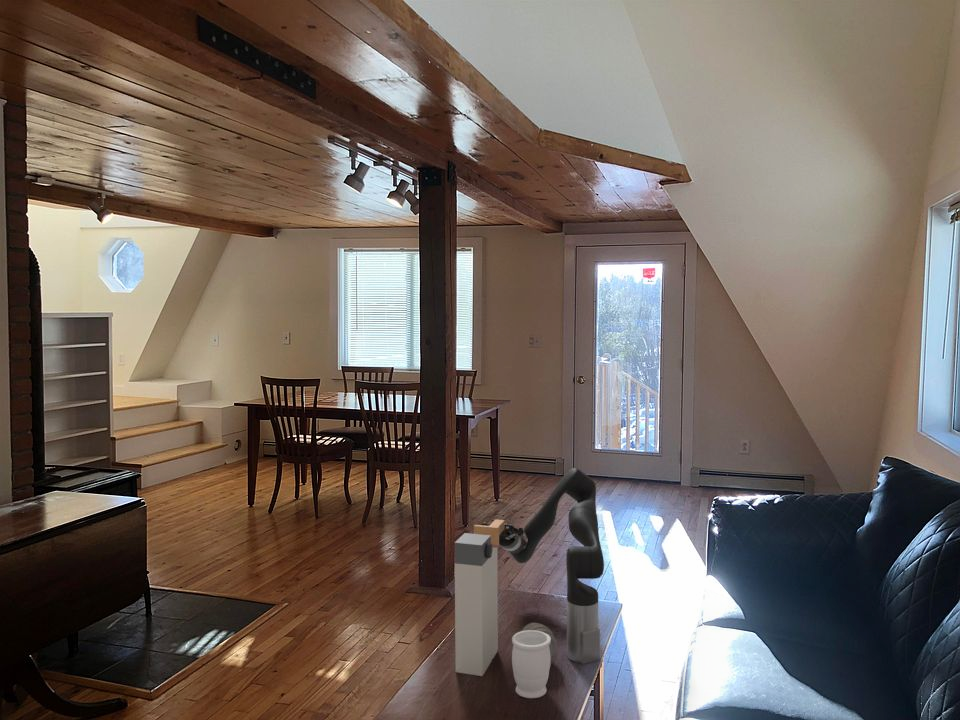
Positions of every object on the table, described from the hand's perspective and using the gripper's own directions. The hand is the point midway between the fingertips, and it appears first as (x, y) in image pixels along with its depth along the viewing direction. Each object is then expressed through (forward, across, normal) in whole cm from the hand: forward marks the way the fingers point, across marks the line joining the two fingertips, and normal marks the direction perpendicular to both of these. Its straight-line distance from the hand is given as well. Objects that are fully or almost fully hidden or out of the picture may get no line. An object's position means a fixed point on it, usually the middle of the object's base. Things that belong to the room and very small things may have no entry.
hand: (496, 526), depth 245 cm
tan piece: (+3, 0, +4) cm, 5 cm away
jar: (+12, +19, +46) cm, 52 cm away
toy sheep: (-2, +17, +38) cm, 42 cm away
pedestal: (+2, 0, +40) cm, 40 cm away
